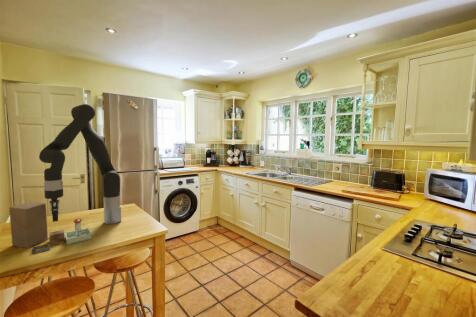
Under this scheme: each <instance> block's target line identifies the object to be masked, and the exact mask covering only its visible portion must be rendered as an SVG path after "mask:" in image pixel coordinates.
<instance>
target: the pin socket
mask: <svg viewBox="0 0 476 317" xmlns="http://www.w3.org/2000/svg"><path fill="white" fill-rule="evenodd" d="M47 251H48V252H49V251H51V245H50V242H49V243H46V244H42V245H37V246H36V245H35V246H33V249H32V254H33V255H34V254H38V253H39V254H40V253H44V252H47Z"/></svg>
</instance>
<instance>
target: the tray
mask: <svg viewBox="0 0 476 317" xmlns="http://www.w3.org/2000/svg"><path fill="white" fill-rule="evenodd" d="M64 239H65V244H66V246H68V245H69V246H70V245H74V244H78V243H82V242H85V241H89V240H93V236H92V231H91V229H90V227H85V228H81V236H78V237H76V234H75V230H72V231H71V230H70V231H66V232H65V231H64Z"/></svg>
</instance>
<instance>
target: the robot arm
mask: <svg viewBox="0 0 476 317" xmlns="http://www.w3.org/2000/svg"><path fill="white" fill-rule="evenodd" d="M70 114H71V116H72V121H71V122H69V123H68V125H66V126H65V127H64V128H63V129H62V130H61V131H60V132H59V133H58V135H56V137H55V139H53V140H52V142H50V143H49V144H48V145H46V146H45V147H43V149H42V150H41V151H40V152H39V160H40V161H41V162H42V163H46V164H50V167H47V168H45V169H44V171H43V179H44V182H43V193H44V194H43V195H44V199H46V200H49V206H50V207H49V208H50V211H51V218H52V222H53V223H54V222H59V209H60V199H59V198H63V197H64V182H63V168H64V165H65V162H66V161H65V160H66V155H65V153H64V152H63V151H65V150H67V149H69V148H70V146H71V145H72V143H73V142H74V140H75V139H76V138H77V136H78V135H79V134H80V133H81V135H82V137H83V140H84V141H85V143H86V146H87V148H88V150H89V152H90V155H91V157H92V158H93V161H95V163H96V164H97V166H98V168H99V171H100V174H101V178H102V185H103V187H102V188H103V193H102V196H103V198H102V199H103V221H104V222H103V223H104V224H106V225H114V224H117V223H120V222H122V206H121V177H120V175H119V173H118V172H117V171H116V169H115V168H114V165H113V163H112V162H111V156H110V154H109V151H108V147H107V145H106V143H105V140H104V139H103V137H101V136H100V135H99V134H98V133H97V132H96V130H94V129H93V127H92V125H91V123H90V122H91V121H92V120H93V119H94V117H95V116H96V110H95V108H94V107H93V105H91V104H88V103H84V104H79V105H76V106H74V107H72V108H71V111H70Z"/></svg>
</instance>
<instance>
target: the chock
mask: <svg viewBox="0 0 476 317" xmlns="http://www.w3.org/2000/svg"><path fill="white" fill-rule="evenodd" d="M48 239H49V243H50V246H51V245H54V244H60V243H64V242H65V243H66V240H65V230H64V229H61V230H60V229H59V230H55V231H50V232H48Z"/></svg>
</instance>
